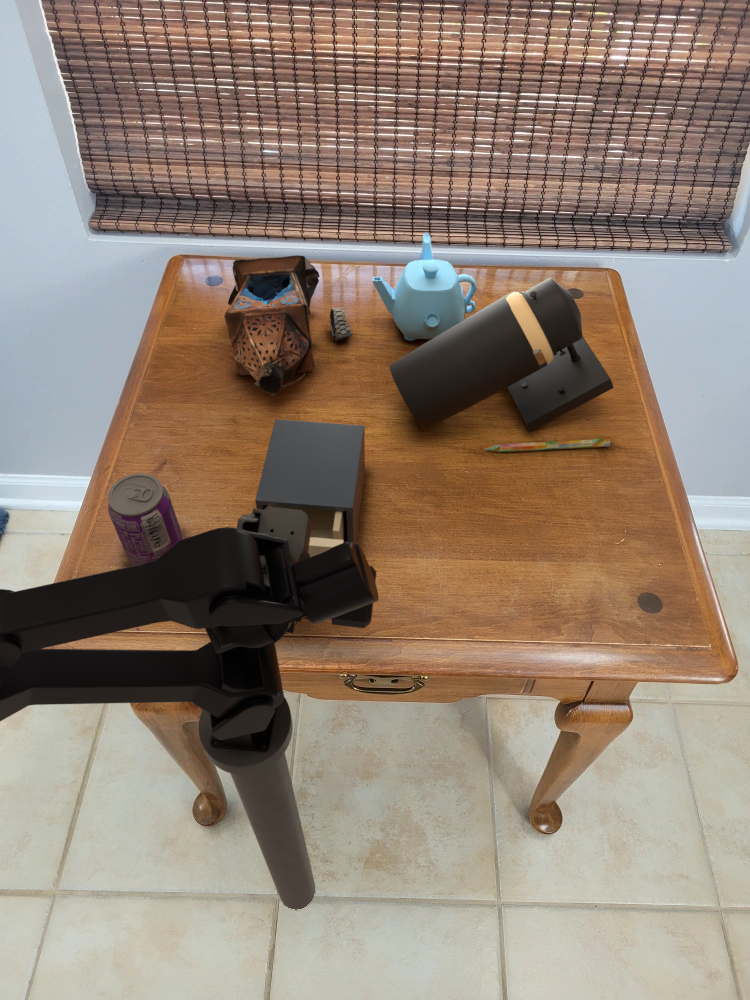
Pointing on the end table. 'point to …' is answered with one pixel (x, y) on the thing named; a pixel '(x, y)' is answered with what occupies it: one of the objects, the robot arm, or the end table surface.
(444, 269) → the teapot
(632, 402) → the end table surface
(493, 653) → the end table surface
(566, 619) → the end table surface
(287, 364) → the lantern
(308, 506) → the cabinet
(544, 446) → the pencil
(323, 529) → the drawer
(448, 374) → the light fixture
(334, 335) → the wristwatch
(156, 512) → the beverage can
